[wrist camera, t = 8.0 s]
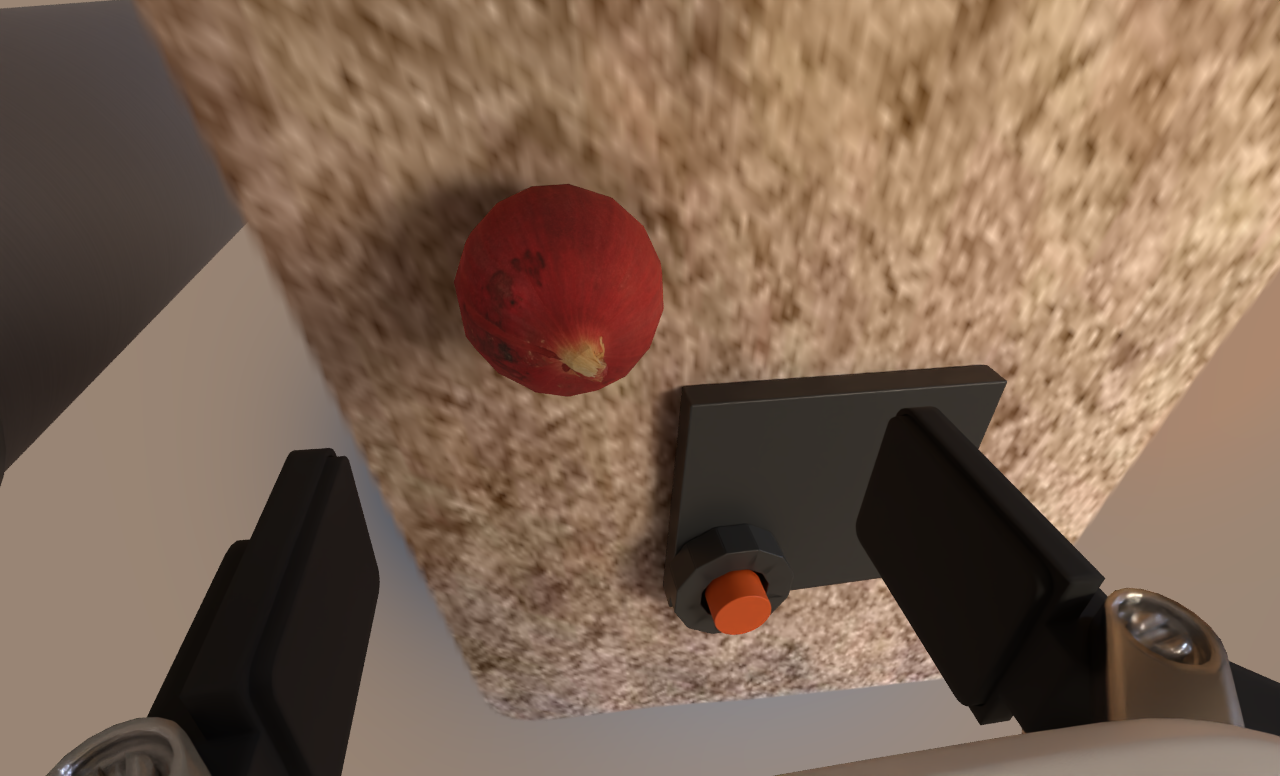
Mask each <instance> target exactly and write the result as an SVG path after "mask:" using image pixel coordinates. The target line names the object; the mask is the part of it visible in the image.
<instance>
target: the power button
mask: <svg viewBox="0 0 1280 776" xmlns="http://www.w3.org/2000/svg"><path fill="white" fill-rule="evenodd" d="M705 597H706V600H707V603H708V606H709V609H710V612H711V615H712V618H713V621H714V624H715V626H716V628H717V629H718V630H719V631H721V632H722V633H725V634H730V635H737V634H743V633H747V632H750V631H752V630H754V629H756V628H758V627H759V626H761V625H762V624H763V623H764V622H765V621H766V620H767V619H768V617H769V615H770V613H771V604H770V602H769V599H768V597H767V595H766V593H765V590H764V588H763V586H762V584H761V581H760V579H759V577H758V575H757V574H756V573H754V572H753V571H751V570H748V569H746V570H738V571H730V572H728V573H726V574H724V575H722V576H720V577H718V578H716V579H714V580H712V581H711V583H710V584H709V585H708V586H707V588H706V591H705Z"/></svg>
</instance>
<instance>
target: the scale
mask: <svg viewBox="0 0 1280 776" xmlns="http://www.w3.org/2000/svg"><path fill="white" fill-rule="evenodd" d="M1006 384H1007V381H1006V380H1005V379H1004V378H1003V377H1001V376H1000V375H999V374H998V373H996V372H995V371H994V370H993V369H991V368H990V367H989V366H987V365H981V366H967V367H953V368H939V369H925V370H911V371H897V372H883V373H869V374H855V375H841V376H827V377H813V378H799V379H784V380H770V381H756V382H742V383H728V384H714V385H700V386H686V387H683V388H682V396H681V406H680V416H679V427H678V437H677V447H676V458H675V468H674V478H673V489H672V499H671V509H670V519H669V530H668V540H667V550H666V561H665V571H664V581H663V587H664V590H665V594H666V597H667V601H668V605H669V607H673V608H674V612H675V613H676V614H677V616H678V617H679V618H680V619H681V620H682V621H683V623H684V624H685V625H686V626H687V627H688V628H690V629H694V630H699V631H703V632H707V633H711V634H715V633H722V632H721V631H719V630H718V629H717V628H716V626H715V624H714V621H713V618H712V615H711V612H710V609H709V606H708V603H707V600H706V597H705V591H706V588H707V586H708V585H709V584H710V583H711V581H712V580H714V579H716V578H718V577H720V576H722V575H724V574H726V573H728V572H730V571H738V570H746V569H748V570H751V571H753V572H754V573H756V574H757V575H758V577H759V579H760V581H761V584H762V586H763V588H764V590H765V593H766V595H767V597H768V599H769V602H770V604H771V613H770V615H771V614H772V613H773V612H774V610H775V609H776V608H777V607H778V606H779V605H780V604H781V603H782V602H783V601H784V600H785V599H786V598H787V597H788V595H789V591H790V590H797V589H804V588H812V587H819V586H826V585H833V584H841V583H848V582H855V581H862V580H869V579H877V578H882V577H881V576H880V574H879V572H878V571H877V569H876V568H875V566H874V564H873V563H872V561H871V560H870V558H869V556H868V555H867V553H866V551H865V550H864V548H863V547H862V545H861V543H860V542H859V540H858V537H857V534H856V520H857V517H858V514H859V511H860V508H861V505H862V502H863V498H864V495H865V492H866V489H867V486H868V483H869V480H870V477H871V474H872V471H873V468H874V465H875V461H876V458H877V455H878V452H879V449H880V446H881V443H882V440H883V437H884V434H885V431H886V427H887V424H888V422H889V420H890V419H891V418H892V417H895V416H896V414H897V412H898V411H899V410H901V409H903V408H912V407H927V406H932V407H936V408H937V409H939V410H940V411H941V412H942V413H943V414H944V415H945V416H946V417H947V418H948V419H949V420H950V421H951V422H952V423H953V424H954V425H955V426H956V427H957V428H958V429H959V430H960V431H961V432H962V433H963V434H964V435H965V436H966V437H967V438H968V439H969V440H970V441H971V442H972V443H973V444H974V445H975V446H976V447H977V449H979V446H980V444H981V442H982V439H983V437H984V435H985V432H986V430H987V428H988V425H989V423H990V421H991V418H992V416H993V414H994V412H995V409H996V407H997V405H998V402H999V400H1000V398H1001V395H1002V393H1003V391H1004V388H1005V386H1006Z"/></svg>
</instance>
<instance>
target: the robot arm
mask: <svg viewBox="0 0 1280 776" xmlns="http://www.w3.org/2000/svg"><path fill="white" fill-rule="evenodd" d="M856 534H857V537H858V540H859V542H860V543H861V545H862V547H863V548H864V550H865V551H866V553H867V555H868V556H869V558H870V560H871V561H872V563H873V564H874V566H875V568H876V569H877V571H878V572H879V574H880V576H881V577H882V579H883V581H884V582H885V584H886V585H887V587H888V589H889V590H890V592H891V594H892V595H893V597H894V598H895V600H896V602H897V603H898V605H899V607H900V608H901V610H902V611H903V613H904V615H905V616H906V618H907V620H908V621H909V623H910V624H911V626H912V628H913V629H914V631H915V632H916V634H917V636H918V637H919V639H920V641H921V642H922V644H923V645H924V647H925V649H926V650H927V652H928V654H929V655H930V657H931V658H932V660H933V662H934V663H935V665H936V667H937V668H938V670H939V671H940V673H941V675H942V676H943V678H944V679H945V681H946V683H947V684H948V686H949V688H950V689H951V691H952V692H953V694H954V696H955V697H956V698H957V700H958V701H959V702H960V703H961V704H963V705H965V706H969V708H970V710H971V711H972V713H973V714H974V716H975V717H976V719H977V721H978V722H979V724H980V725H984V724H991V723H996V722H1003V721H1009V720H1010V719H1011V718H1012V716H1014V717H1015V718H1016V720H1017V721H1018V723H1019V724H1020V726H1021V727H1022V734H1019V735H1013V736H1006V737H1000V738H994V739H989V740H982V741H976V742H970V743H964V744H958V745H952V746H946V747H941V748H935V749H928V750H923V751H916V752H911V753H904V754H898V755H892V756H887V757H880V758H874V759H868V760H862V761H856V762H851V763H845V764H839V765H833V766H827V767H822V768H816V769H810V770H804V771H798V772H793V773H786V774H780V775H775V776H1280V683H1278V682H1276V681H1273V680H1271V679H1269V678H1267V677H1264V676H1262V675H1260V674H1257V673H1255V672H1253V671H1251V670H1248V669H1246V668H1244V667H1241V666H1239V665H1237V664H1235V663H1232V662H1230V661H1229V660H1228V656H1227V652H1226V650H1225V648H1224V646H1223V644H1222V641H1221V639H1220V638H1219V637H1218V636H1217V635H1216V633H1215V632H1214V631H1213V630H1212V628H1211V627H1210V626H1209V625H1208V624H1207V623H1205V622H1204V621H1203V620H1202V619H1201V618H1200V617H1198V616H1197V615H1196V614H1195V613H1194V612H1192V611H1190V610H1189V609H1187V608H1186V607H1184V606H1182V605H1181V604H1179V603H1178V602H1176V601H1174V600H1171V599H1169V598H1167V597H1164V596H1163V595H1160V594H1158V593H1154V592H1150V591H1147V590H1143V589H1135V588H1124V589H1120V590H1115V591H1114V592H1113V593H1112V594H1111V595H1110V596H1108V597H1107V595H1106V594H1105V593H1104V592H1103V591H1102V590H1101V589H1100V588H1099V587H1100V585H1101V584H1102V582H1103V581H1104V579H1105V578H1104V577H1103V576H1102V575H1101V574H1100V573H1099V571H1098V570H1096V568H1095V567H1094V566H1093V565H1092V564H1090V562H1089V561H1088V560H1087V559H1086V558H1085V557H1084V556H1083V555H1082V554H1081V553H1080V552H1079V551H1078V550H1077V549H1076V548H1075V547H1074V546H1073V545H1072V544H1071V543H1070V542H1069V541H1068V540H1067V539H1066V538H1065V537H1064V536H1063V535H1062V534H1061V533H1060V532H1059V531H1058V530H1057V529H1056V528H1055V527H1054V526H1053V525H1052V524H1051V523H1050V522H1049V521H1048V520H1047V519H1046V518H1045V517H1044V516H1043V515H1042V514H1041V513H1040V512H1039V510H1038V509H1037V508H1036V507H1035V506H1034V505H1033V504H1032V503H1031V502H1030V501H1029V500H1028V499H1027V498H1026V497H1025V496H1024V495H1023V494H1022V493H1021V492H1020V491H1019V490H1018V489H1017V488H1016V487H1015V486H1014V485H1013V484H1012V483H1011V482H1010V481H1009V480H1008V479H1007V478H1006V477H1005V476H1004V475H1003V474H1002V473H1001V472H1000V471H999V470H998V469H997V468H996V467H995V466H994V465H993V464H992V463H991V462H990V461H989V460H988V459H987V458H986V457H985V456H984V455H983V454H982V453H981V452H980V451H979V450H978V449H977V447H976V446H975V445H974V444H973V443H972V442H971V441H970V440H969V439H968V438H967V437H966V436H965V435H964V434H963V433H962V432H961V431H960V430H959V429H958V428H957V427H956V426H955V425H954V424H953V423H952V422H951V421H950V420H949V419H948V418H947V417H946V416H945V415H944V414H943V413H942V412H941V411H940V410H939V409H937V408H936V407H932V406H927V407H912V408H903V409H901V410H899V411H898V412H897V414H896V416H895V417H892V418H891V419H890V420H889V422H888V424H887V427H886V431H885V434H884V437H883V440H882V443H881V446H880V449H879V452H878V455H877V458H876V461H875V465H874V468H873V471H872V474H871V477H870V480H869V483H868V486H867V489H866V492H865V495H864V498H863V502H862V505H861V508H860V511H859V514H858V517H857V520H856ZM379 583H380V581H379V571H378V566H377V563H376V559H375V555H374V551H373V548H372V544H371V540H370V537H369V533H368V529H367V525H366V522H365V518H364V514H363V511H362V507H361V503H360V499H359V496H358V492H357V488H356V485H355V481H354V477H353V473H352V470H351V466H350V463H349V460H348V458H347V457H346V456H340V457H337V456H336V453H335V452H334V450H333V449H331V448H324V449H309V450H294V451H292V452H290V454H289V455H288V457H287V459H286V461H285V463H284V465H283V468H282V470H281V472H280V474H279V477H278V479H277V481H276V483H275V485H274V487H273V490H272V492H271V494H270V496H269V499H268V501H267V503H266V505H265V507H264V510H263V512H262V514H261V516H260V518H259V521H258V523H257V525H256V527H255V530H254V532H253V534H252V536H251V538H250V540H239V541H236V542H235V543H234V544H232V545H231V546H230V548H229V549H228V551H227V553H226V554H225V556H224V558H223V560H222V562H221V565H220V566H219V569H218V571H217V573H216V575H215V577H214V579H213V581H212V583H211V585H210V587H209V589H208V591H207V593H206V596H205V598H204V600H203V602H202V604H201V606H200V608H199V610H198V612H197V614H196V617H195V618H194V621H193V623H192V625H191V627H190V629H189V631H188V633H187V635H186V637H185V639H184V641H183V643H182V645H181V647H180V649H179V652H178V654H177V656H176V658H175V660H174V662H173V664H172V666H171V668H170V670H169V672H168V674H167V676H166V678H165V681H164V683H163V685H162V687H161V689H160V691H159V693H158V695H157V697H156V699H155V701H154V703H153V705H152V708H151V710H150V712H149V714H148V716H147V718H136V719H133V720H129V721H126V722H123V723H119V724H116V725H113V726H111V727H110V728H107V729H105V730H104V731H102V732H100V733H98V734H96V735H94V736H92V737H90V738H88V739H87V740H86V741H84V742H83V743H82V744H80V745H79V746H78V747H76V748H75V749H74V750H72V751H71V752H70V753H68V754H67V755H65V756H64V757H63V758H62V759H61V761H60V762H59V763H58V764H57V765H56V766H55V767H54V768H53V769H52V770H51V771H50V772H49V773H48V774H47V775H46V776H341V773H342V769H343V764H344V759H345V754H346V749H347V744H348V739H349V735H350V730H351V725H352V720H353V715H354V710H355V705H356V701H357V696H358V691H359V686H360V681H361V676H362V672H363V667H364V662H365V657H366V652H367V647H368V643H369V638H370V633H371V628H372V623H373V618H374V613H375V608H376V603H377V599H378V594H379Z"/></svg>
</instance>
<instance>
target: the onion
mask: <svg viewBox="0 0 1280 776" xmlns="http://www.w3.org/2000/svg"><path fill="white" fill-rule="evenodd" d="M454 285H455V289H456V294H457V298H458V303H459V307H460V312H461V316H462V321H463V326H464V330H465V335H466V337H467V339H468V340H469V341H470V342H471V344H472V345H473V346H474V348H475V349H476V350H477V351H478V352H479V353H480V354H481V355H482V356H483V357H484V358H485V359H486V360H487V361H488V362H489V364H490V365H491V366H492V367H493V368H494V369H495V370H496V371H497V372H498V373H499V374H501V375H503V376H505V377H507V378H509V379H511V380H513V381H515V382H517V383H519V384H521V385H524V386H526V387H527V388H529V389H531V390H533V391H534V392H538V393H545V394H553V395H560V396H573V395H577V394H582V393H587V392H591V391H597V390H599V389H601V388H603V387H605V386H607V385H609V384H611V383H613V382H615V381H617V380H619V379H621V378H623V377H625V376H626V375H627V374H628V373H629V372H630V370H631V369H632V368H633V367H634V366H635V365H636V363H637V362H638V361H639V360H640V359H641V357H642V356H643V355H644V354H645V353H646V351H647V350H648V349H649V348H650V345H651V343H652V340H653V337H654V334H655V331H656V329H657V326H658V323H659V320H660V317H661V315H662V312H663V309H664V307H663V286H662V271H661V263H660V260H659V258H658V256H657V254H656V252H655V250H654V247H653V245H652V243H651V241H650V239H649V237H648V235H647V232H646V230H645V228H644V226H643V225H641V224H640V223H639V222H638V221H637V220H636V219H635V218H634V217H633V216H631V215H630V214H629V213H628V212H627V211H626V210H625V209H624V208H623V207H622V206H620V205H619V204H618V203H617V202H616V201H615V200H614V199H613V198H610V197H608V196H605V195H602V194H598V193H595V192H592V191H589V190H586V189H583V188H580V187H576V186H573V185H570V184H562V185H548V186H533V187H530V188H527V189H525V190H523V191H521V192H519V193H517V194H515V195H513V196H511V197H508V198H506V199H504V200H502V201H500V202H498V203H497V204H496V205H495V206H494V207H493V208H492V209H491V210H490V211H489V213H488V214H487V215H486V216H485V217H484V218H483V219H482V220H481V222H480V223H479V224H478V225H477V226H476V227H475V228H474V229H473V231H472V232H471V233H470V235H469V237H468V239H467V240H466V243H465V246H464V249H463V253H462V256H461V260H460V263H459V266H458V270H457V273H456V277H455V280H454Z"/></svg>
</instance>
